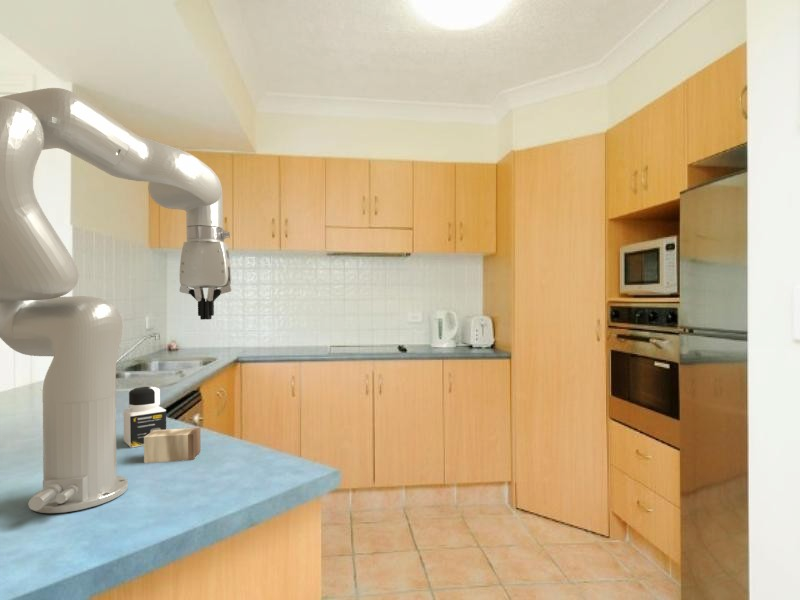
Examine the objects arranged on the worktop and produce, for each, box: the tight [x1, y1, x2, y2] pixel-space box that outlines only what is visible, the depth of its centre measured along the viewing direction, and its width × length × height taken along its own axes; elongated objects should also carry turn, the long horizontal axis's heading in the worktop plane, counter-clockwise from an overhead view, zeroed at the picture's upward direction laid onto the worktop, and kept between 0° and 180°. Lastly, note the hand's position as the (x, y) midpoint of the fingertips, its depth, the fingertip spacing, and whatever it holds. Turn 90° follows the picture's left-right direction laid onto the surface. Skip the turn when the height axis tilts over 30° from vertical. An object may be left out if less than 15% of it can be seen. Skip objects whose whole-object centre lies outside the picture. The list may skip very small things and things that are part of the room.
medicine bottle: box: [123, 386, 167, 449], centre depth 104 cm, size 7×7×12 cm
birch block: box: [143, 427, 202, 464], centre depth 92 cm, size 5×5×9 cm
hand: (206, 319), depth 103 cm, fingers closed
